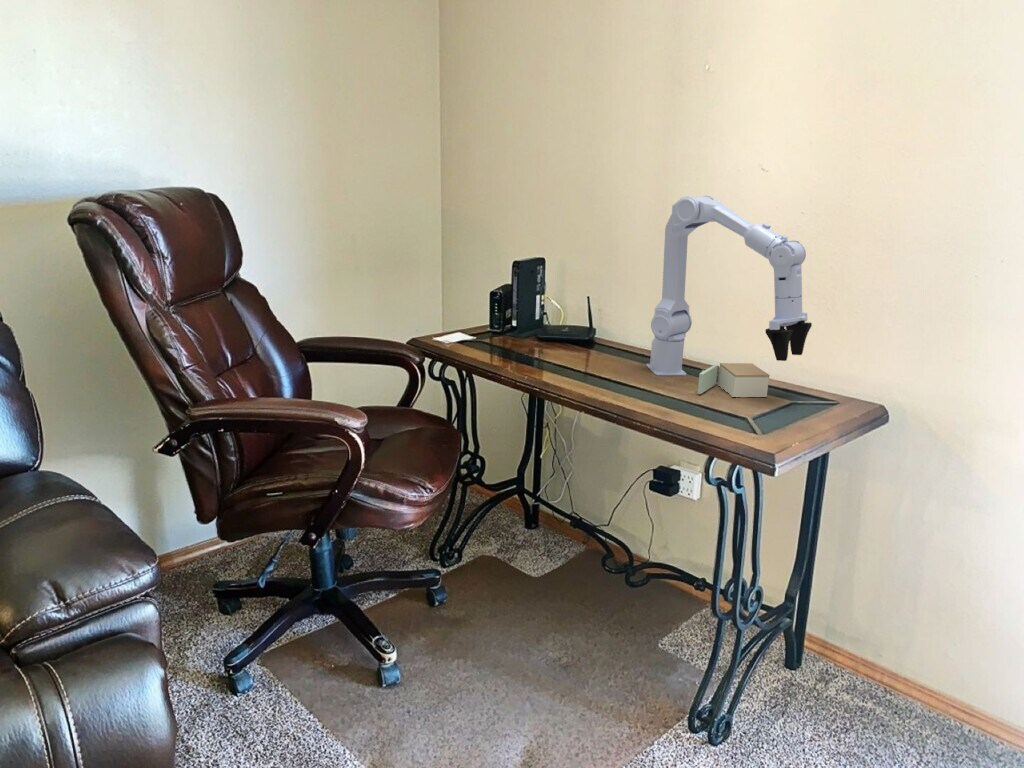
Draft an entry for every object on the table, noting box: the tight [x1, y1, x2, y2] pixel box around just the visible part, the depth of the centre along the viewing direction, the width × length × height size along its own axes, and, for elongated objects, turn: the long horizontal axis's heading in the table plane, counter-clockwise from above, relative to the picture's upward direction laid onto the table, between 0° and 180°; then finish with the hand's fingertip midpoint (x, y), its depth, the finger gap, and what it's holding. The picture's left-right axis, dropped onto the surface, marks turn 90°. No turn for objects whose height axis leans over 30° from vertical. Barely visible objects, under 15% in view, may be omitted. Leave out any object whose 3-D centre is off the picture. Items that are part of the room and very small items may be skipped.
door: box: [697, 364, 720, 395], centre depth 185 cm, size 11×1×5 cm, turn 146°
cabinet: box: [717, 362, 771, 397], centre depth 185 cm, size 10×8×6 cm
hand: (789, 357), depth 177 cm, fingers open, 7 cm apart
